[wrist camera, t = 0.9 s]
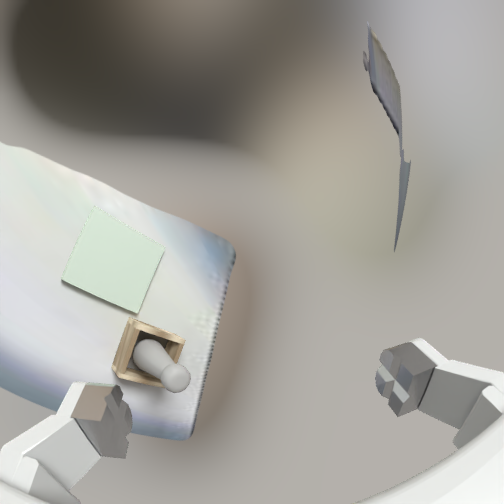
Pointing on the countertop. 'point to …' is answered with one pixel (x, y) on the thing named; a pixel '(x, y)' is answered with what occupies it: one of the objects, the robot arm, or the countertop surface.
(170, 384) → the salt shaker
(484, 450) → the robot arm
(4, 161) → the countertop surface
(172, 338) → the wooden box
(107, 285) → the sage mat
